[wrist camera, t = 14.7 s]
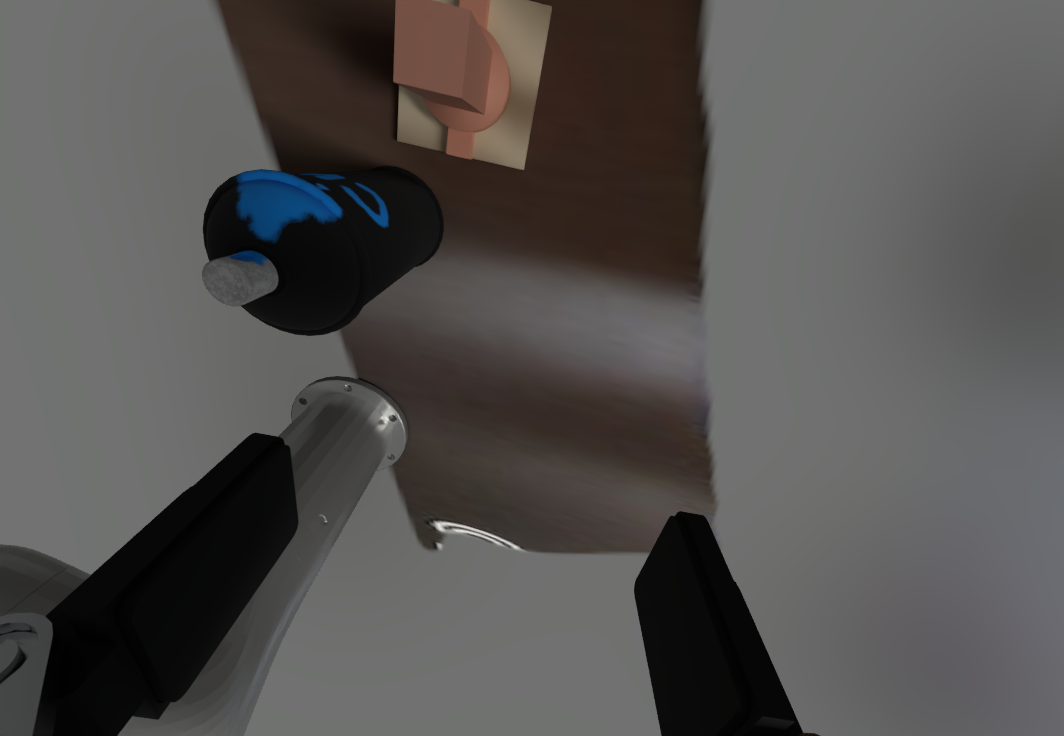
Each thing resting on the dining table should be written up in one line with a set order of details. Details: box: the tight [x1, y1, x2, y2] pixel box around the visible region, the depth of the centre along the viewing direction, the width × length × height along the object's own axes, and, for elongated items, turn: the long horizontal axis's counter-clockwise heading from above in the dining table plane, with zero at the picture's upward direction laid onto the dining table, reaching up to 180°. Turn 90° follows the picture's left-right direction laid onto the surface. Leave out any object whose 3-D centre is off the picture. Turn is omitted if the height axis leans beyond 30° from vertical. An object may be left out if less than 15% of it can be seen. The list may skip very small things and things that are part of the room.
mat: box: [397, 0, 552, 170], centre depth 28 cm, size 10×10×1 cm
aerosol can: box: [202, 166, 444, 336], centre depth 25 cm, size 8×8×20 cm
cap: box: [393, 0, 511, 159], centre depth 24 cm, size 10×6×10 cm, turn 168°
